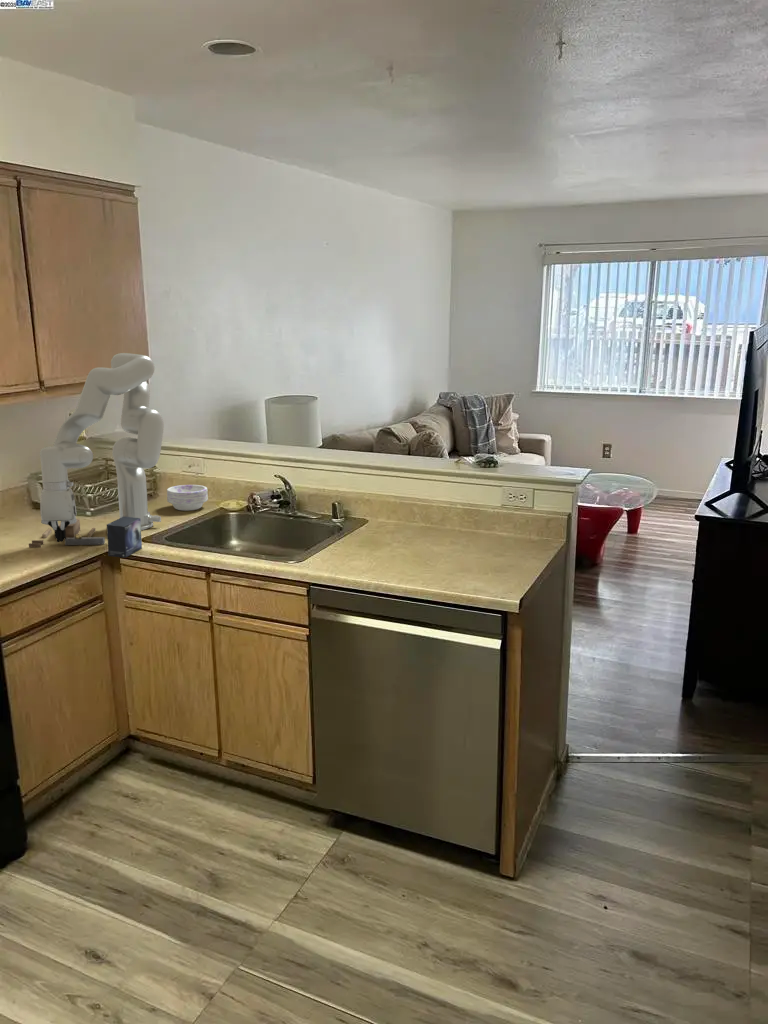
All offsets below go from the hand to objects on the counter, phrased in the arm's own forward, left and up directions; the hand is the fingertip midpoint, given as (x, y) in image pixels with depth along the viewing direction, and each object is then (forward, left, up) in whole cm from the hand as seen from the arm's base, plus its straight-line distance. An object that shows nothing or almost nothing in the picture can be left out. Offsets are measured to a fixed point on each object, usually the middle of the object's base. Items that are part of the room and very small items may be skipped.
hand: (60, 540), depth 254 cm
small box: (-22, +10, -2) cm, 24 cm away
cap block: (0, -12, -2) cm, 12 cm away
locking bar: (-7, 0, -1) cm, 8 cm away
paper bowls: (-36, -45, -2) cm, 58 cm away
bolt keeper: (+8, 0, -1) cm, 8 cm away
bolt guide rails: (0, -12, -1) cm, 12 cm away
